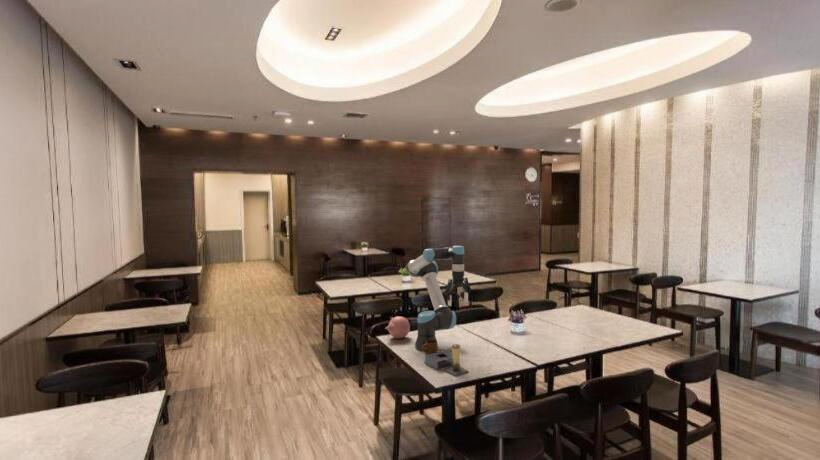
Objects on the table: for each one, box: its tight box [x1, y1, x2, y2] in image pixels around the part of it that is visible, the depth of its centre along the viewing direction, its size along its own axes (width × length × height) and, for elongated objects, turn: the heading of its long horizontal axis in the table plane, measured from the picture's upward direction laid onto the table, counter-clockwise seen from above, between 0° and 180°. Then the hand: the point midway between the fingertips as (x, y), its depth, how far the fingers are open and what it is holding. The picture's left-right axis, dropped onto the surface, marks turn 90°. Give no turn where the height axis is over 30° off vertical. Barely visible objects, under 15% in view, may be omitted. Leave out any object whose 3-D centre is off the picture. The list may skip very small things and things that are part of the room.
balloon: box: [384, 315, 411, 340], centre depth 283 cm, size 15×20×15 cm
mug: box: [421, 339, 439, 356], centre depth 248 cm, size 12×8×9 cm, turn 133°
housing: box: [424, 349, 452, 371], centre depth 237 cm, size 12×16×5 cm
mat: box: [443, 366, 470, 377], centre depth 226 cm, size 10×10×1 cm
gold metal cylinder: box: [451, 343, 461, 372], centre depth 226 cm, size 4×4×14 cm
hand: (457, 304), depth 252 cm, fingers open, 13 cm apart
